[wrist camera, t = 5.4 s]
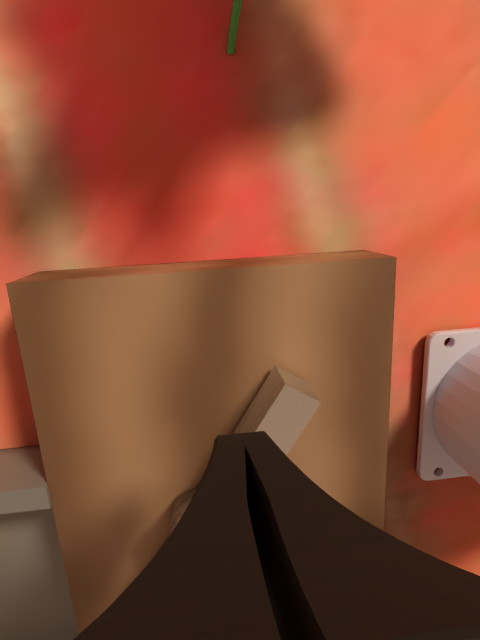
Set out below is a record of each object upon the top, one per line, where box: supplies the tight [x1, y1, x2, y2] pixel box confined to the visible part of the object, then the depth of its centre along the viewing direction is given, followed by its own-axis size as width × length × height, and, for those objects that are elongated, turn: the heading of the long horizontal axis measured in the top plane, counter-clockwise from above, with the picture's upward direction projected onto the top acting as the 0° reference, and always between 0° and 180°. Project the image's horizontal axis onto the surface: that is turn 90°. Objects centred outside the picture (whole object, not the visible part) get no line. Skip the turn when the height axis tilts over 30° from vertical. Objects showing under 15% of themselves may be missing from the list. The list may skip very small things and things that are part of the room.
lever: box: [170, 365, 321, 534], centre depth 16 cm, size 3×15×2 cm, turn 151°
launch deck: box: [6, 250, 396, 634], centre depth 19 cm, size 14×20×3 cm
